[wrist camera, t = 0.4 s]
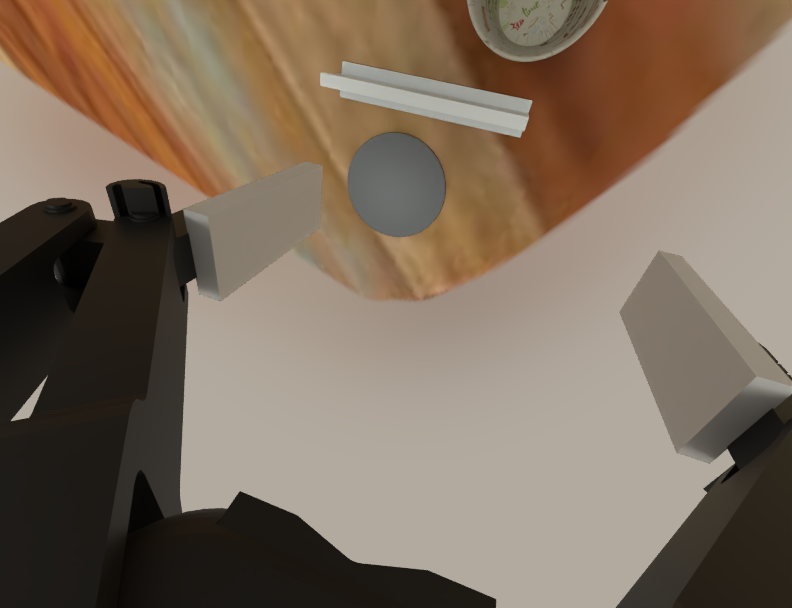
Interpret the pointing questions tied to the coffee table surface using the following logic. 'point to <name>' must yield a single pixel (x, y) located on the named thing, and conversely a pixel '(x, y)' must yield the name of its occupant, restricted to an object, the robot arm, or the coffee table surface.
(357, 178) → the coaster
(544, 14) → the mug
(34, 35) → the coffee table surface
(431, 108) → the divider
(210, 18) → the coffee table surface
